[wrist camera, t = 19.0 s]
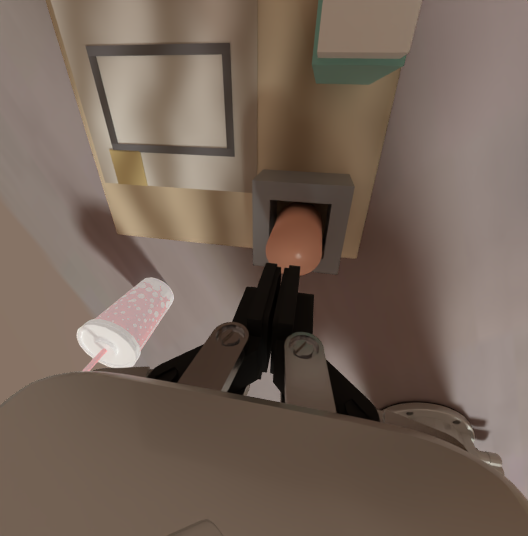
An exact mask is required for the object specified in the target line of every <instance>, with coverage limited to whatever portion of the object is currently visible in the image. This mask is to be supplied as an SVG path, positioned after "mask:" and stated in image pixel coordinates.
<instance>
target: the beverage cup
mask: <svg viewBox="0 0 528 536" xmlns="http://www.w3.org/2000/svg"><path fill="white" fill-rule="evenodd" d="M173 300H174V296H173V292H172V290H171V289H170V287H169V286H168V285H167V284H166V283H164V282H163V281H161V280H159V279H156V278H152V277H151V278H145V279H144V280H142V281H141V282H140V283H138V284H137V285H136V286H135V287H133V288H132V289H131V290H130V291H129V292H127V293H126V294H125V295H124V296H122V297H121V298H120V299H119V300H117V301H116V302H115V303H114V304H113V305H111V306H110V307H109V308H108V309H106V310H105V311H104V312H103V313H101V314H100V315H99V316H98V317H97V318H95V319H92V320H89V321H88V322H87V323H85V324H84V325H83V326H82V327H80V328H79V329H78V331H77V339H78V342H79V345H80V346H81V347H82V348H83V350H84V351H85V352H86V353H87V354H88V355H90V356H91V357H92V358H93V360H92V361H91V362H90V363H89V364H88V365H87V366H86V367H85V368H84V370H83V371H90V370H91V368H93V366H94V365H95V364H96V363H97V362H100V363H102V364H104V365H106V366H108V367H112V368H126V367H132V366H134V364H135V363H136V361H137V360H138V358H139V356H140V354H141V352H140V351H141V349H142V348H143V346H144V345H145V343H146V342H147V340H148V339H149V337H150V336H151V334H152V333H153V331H154V330H155V328H156V327H157V325H158V324H159V322H160V321H161V319H162V318H163V316H164V315H165V313H166V312H167V310H168V309H169V307H170V306H171V304H172V302H173Z"/></svg>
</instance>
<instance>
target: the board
mask: <svg viewBox="0 0 528 536" xmlns="http://www.w3.org/2000/svg"><path fill="white" fill-rule="evenodd" d="M46 3H47V7H48V10H49V13H50V16H51V20H52V23H53V26H54V29H55V33H56V36H57V39H58V42H59V46H60V49H61V52H62V55H63V59H64V62H65V65H66V68H67V72H68V75H69V78H70V81H71V85H72V88H73V91H74V94H75V98H76V101H77V104H78V107H79V111H80V114H81V117H82V120H83V124H84V127H85V130H86V133H87V137H88V140H89V143H90V147H91V150H92V153H93V156H94V160H95V163H96V166H97V169H98V173H99V176H100V179H101V182H102V186H103V189H104V192H105V195H106V199H107V202H108V205H109V208H110V212H111V215H112V218H113V221H114V225H115V228H116V231H117V234H121V235H130V236H140V237H150V238H159V239H169V240H179V241H188V242H198V243H208V244H217V245H227V246H237V247H246V248H253V210H252V180H253V179H254V178H255V177H256V176H257V175H258V174H259V173H260V172H261V171H262V170H263V169H265V170H283V171H301V172H319V173H337V174H350V177H351V179H352V181H353V184H354V186H355V188H354V193H353V198H352V203H351V208H350V214H349V219H348V224H347V229H346V234H345V239H344V244H343V249H342V254H341V257H343V258H353V259H356V258H357V254H358V249H359V245H360V241H361V237H362V232H363V228H364V224H365V220H366V215H367V211H368V207H369V203H370V198H371V194H372V190H373V185H374V181H375V177H376V173H377V168H378V164H379V160H380V156H381V151H382V147H383V143H384V139H385V134H386V130H387V126H388V122H389V117H390V113H391V109H392V105H393V100H394V96H395V92H396V87H397V83H398V79H399V75H400V70H401V68H399V69H397V70H395V71H393V72H392V73H390V74H388V75H386V76H384V77H382V78H381V79H379V80H377V81H375V82H373V83H371V84H370V85H359V84H316V81H315V77H314V72H313V68H312V57H313V47H314V38H315V28H316V18H317V8H318V0H46ZM290 203H293V201H280V200H277V216H276V220H277V217H278V215H279V213H280V211H281V210H282V209H283V208H284V207H285V206H286V205H288V204H290ZM305 203H307V202H305ZM308 204H311V205H312V206H314V207H315V208H316V209H317V210H318V212H319V213H320V215H321V219H322V238H323V235H324V228H325V222H326V215H327V208H328V204H321V203H308Z"/></svg>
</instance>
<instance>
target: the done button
mask: <svg viewBox="0 0 528 536" xmlns="http://www.w3.org/2000/svg"><path fill="white" fill-rule="evenodd" d="M266 257H267V259H268V261H269V263H275V264H277V267H281V273H282V274H283V273H284V268H289V265H294V266H301V267H300V276H302V275H305V274H308V273H310V272H311V271H313V270H314V269H315V268H316V267H317V266H318V264H319V262H320V260H321V257H322V219H321V215H320V213H319V212H318V210H317V209H316V208H315V207H314V206H312V205H311V204H308V203H305V202H293V203H290V204H288V205H286V206H285V207H284V208H283V209H282V210H281V211H280V213H279V215H278V217H277V220H276V222H275V225H274V227H273V229H272V232H271V234H270V237H269V239H268V241H267V244H266Z"/></svg>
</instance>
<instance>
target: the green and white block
mask: <svg viewBox="0 0 528 536" xmlns="http://www.w3.org/2000/svg"><path fill="white" fill-rule="evenodd" d="M421 4H422V0H318V8H317V18H316V28H315V38H314V47H313V57H312V68H313V72H314V77H315V81H316V84H359V85H370V84H371V83H373V82H375V81H377V80H379V79H381V78H382V77H384V76H386V75H388V74H390V73H392V72H393V71H395V70H397V69H399V68H401V67H403V66H404V63H405V59H406V55H407V54H408V53H409V51H410V47H411V43H412V39H413V35H414V31H415V28H416V24H417V20H418V16H419V12H420V8H421Z"/></svg>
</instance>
